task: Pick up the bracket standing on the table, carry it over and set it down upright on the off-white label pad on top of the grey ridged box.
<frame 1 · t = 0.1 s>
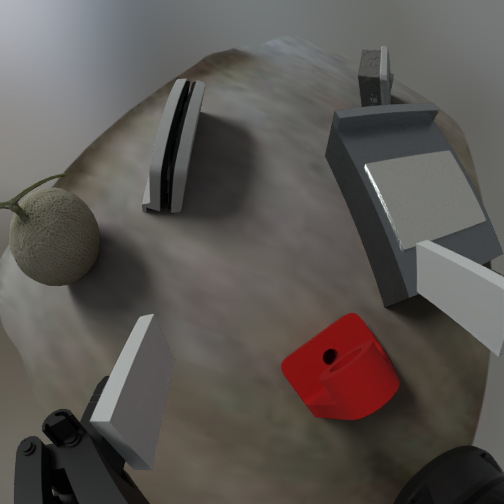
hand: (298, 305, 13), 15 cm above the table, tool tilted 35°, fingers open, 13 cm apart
grey curved slab: (183, 157, 35), on the table
grey ridged box: (405, 210, 30), on the table
fruit: (84, 251, 32), on the table
bracket: (330, 362, 26), on the table
electrical switch: (371, 107, 36), on the table
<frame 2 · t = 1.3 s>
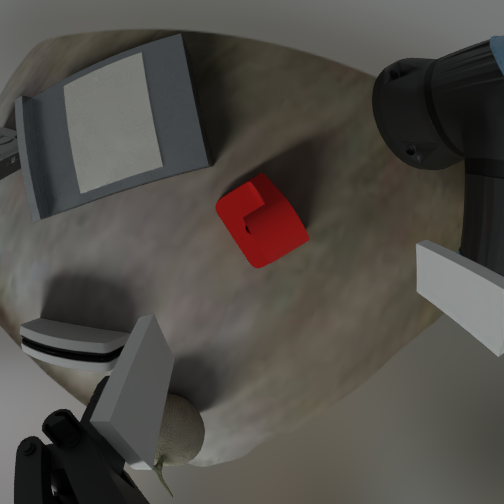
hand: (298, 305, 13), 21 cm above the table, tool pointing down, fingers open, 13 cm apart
grey curved slab: (82, 331, 36), on the table
grey ridged box: (121, 130, 28), on the table
fruit: (171, 401, 40), on the table
bracket: (257, 219, 33), on the table
electrical switch: (17, 150, 27), on the table
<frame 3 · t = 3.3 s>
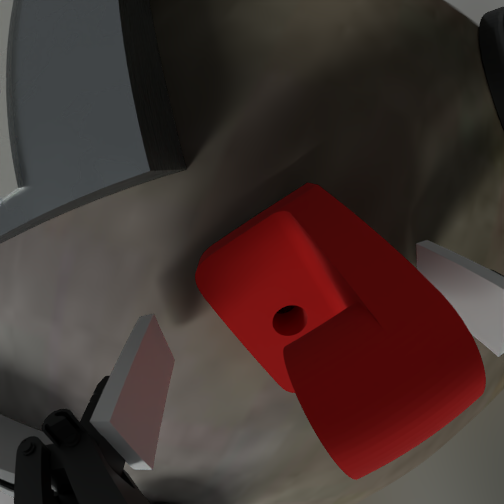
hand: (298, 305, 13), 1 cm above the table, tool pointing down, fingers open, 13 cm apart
grey curved slab: (26, 427, 17), on the table
grey ridged box: (9, 114, 10), on the table
bracket: (294, 289, 14), on the table
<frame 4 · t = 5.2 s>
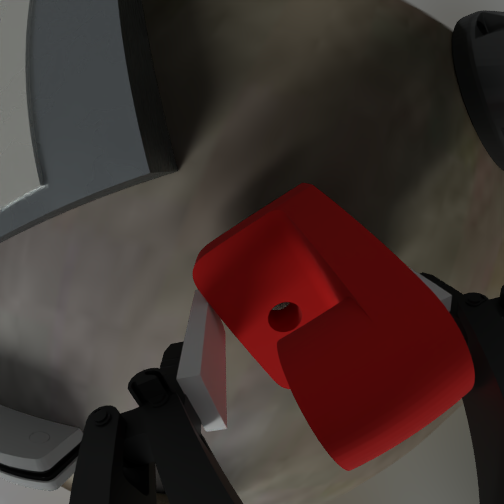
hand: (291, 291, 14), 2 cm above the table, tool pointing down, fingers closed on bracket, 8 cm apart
grey curved slab: (25, 416, 19), on the table
grey ridged box: (17, 120, 12), on the table
fruit: (158, 495, 23), on the table
bracket: (289, 287, 15), point 1 cm above the table, touching gripper
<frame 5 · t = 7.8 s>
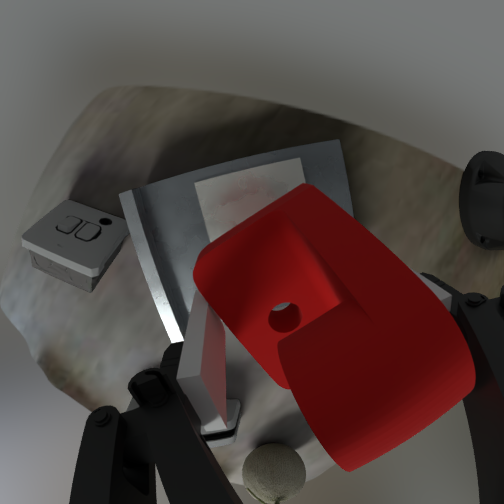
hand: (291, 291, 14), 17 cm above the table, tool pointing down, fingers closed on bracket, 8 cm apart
grey curved slab: (184, 403, 38), on the table
grey ridged box: (247, 226, 31), on the table
fruit: (267, 447, 42), on the table
bracket: (289, 287, 15), point 17 cm above the table, touching gripper
electrical switch: (96, 231, 30), on the table
when the fingers open (7 cm above the table, at t = 10.4 s): bracket stays where it is, resting on grey ridged box.
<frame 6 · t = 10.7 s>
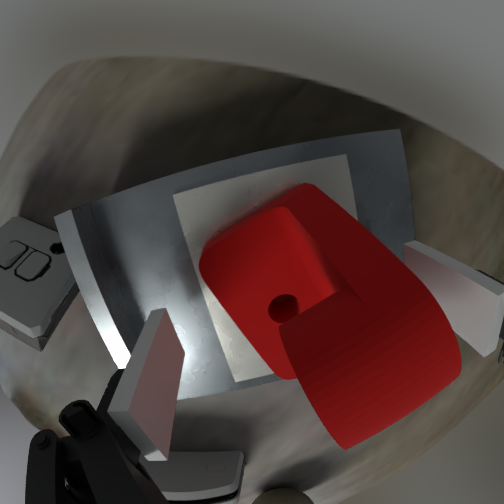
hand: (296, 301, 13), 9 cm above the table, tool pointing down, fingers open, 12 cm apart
grey curved slab: (177, 454, 28), on the table
grey ridged box: (257, 253, 21), on the table
fruit: (275, 490, 33), on the table
bracket: (288, 281, 16), point 6 cm above the table, touching grey ridged box
electrical switch: (53, 258, 20), on the table
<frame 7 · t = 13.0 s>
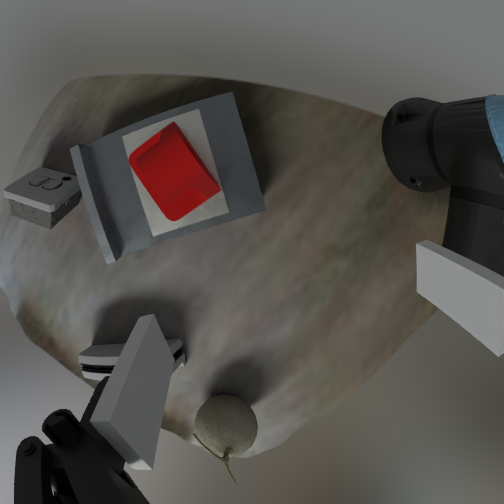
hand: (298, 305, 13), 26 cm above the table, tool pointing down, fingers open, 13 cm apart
grey curved slab: (135, 347, 42), on the table
grey ridged box: (174, 174, 35), on the table
fruit: (222, 401, 47), on the table
bracket: (175, 172, 30), point 6 cm above the table, touching grey ridged box
electrical switch: (62, 190, 34), on the table
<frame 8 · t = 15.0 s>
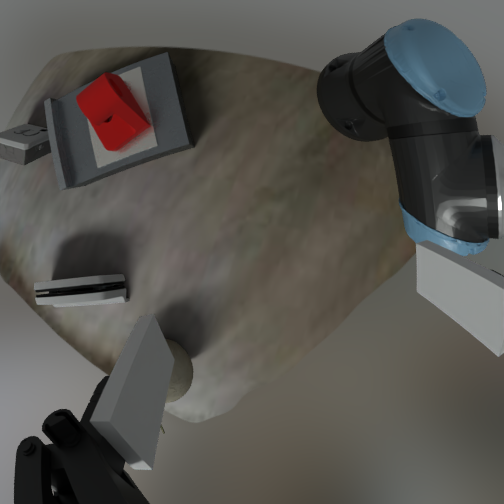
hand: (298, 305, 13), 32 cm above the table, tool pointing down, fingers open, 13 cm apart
grey curved slab: (86, 283, 45), on the table
grey ridged box: (125, 124, 38), on the table
fruit: (165, 349, 49), on the table
bracket: (118, 115, 32), point 6 cm above the table, touching grey ridged box
electrical switch: (40, 142, 37), on the table
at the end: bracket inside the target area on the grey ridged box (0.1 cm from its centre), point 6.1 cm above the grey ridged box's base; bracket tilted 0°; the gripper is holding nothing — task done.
